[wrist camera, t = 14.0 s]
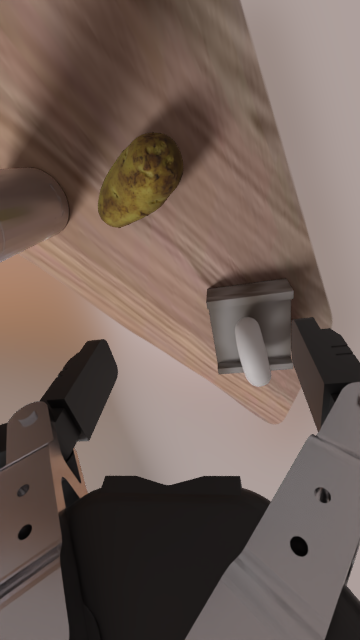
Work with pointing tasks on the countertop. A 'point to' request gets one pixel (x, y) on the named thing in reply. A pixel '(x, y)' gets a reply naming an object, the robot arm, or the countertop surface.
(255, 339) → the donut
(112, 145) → the countertop surface
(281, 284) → the base
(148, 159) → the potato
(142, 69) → the countertop surface
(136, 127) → the countertop surface
